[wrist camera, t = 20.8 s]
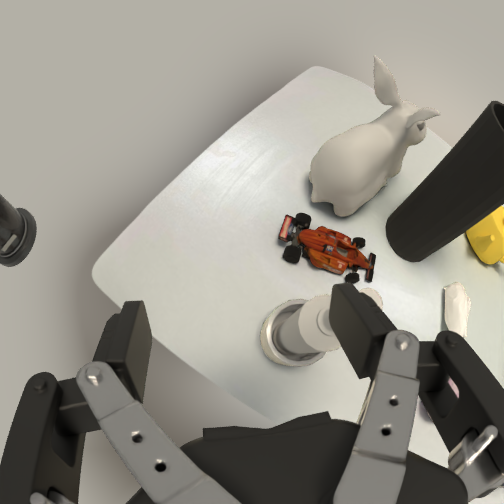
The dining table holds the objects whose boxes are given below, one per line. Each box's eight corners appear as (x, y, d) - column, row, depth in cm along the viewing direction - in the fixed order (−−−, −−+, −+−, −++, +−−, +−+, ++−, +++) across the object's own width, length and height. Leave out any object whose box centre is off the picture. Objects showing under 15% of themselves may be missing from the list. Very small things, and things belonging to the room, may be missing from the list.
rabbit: (404, 187, 53) (474, 102, 30) (329, 233, 48) (402, 129, 24) (368, 145, 56) (419, 52, 33) (289, 180, 51) (328, 61, 27)
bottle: (312, 328, 41) (410, 283, 18) (298, 361, 40) (389, 356, 16) (280, 314, 42) (345, 251, 19) (265, 347, 40) (317, 326, 17)
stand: (263, 369, 40) (270, 370, 33) (256, 312, 42) (262, 303, 36) (320, 360, 40) (336, 359, 34) (312, 306, 43) (326, 295, 37)
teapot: (460, 258, 49) (492, 239, 39) (459, 203, 53) (486, 180, 44) (500, 278, 48) (530, 263, 39) (497, 226, 53) (523, 208, 44)
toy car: (368, 291, 45) (380, 284, 41) (270, 256, 46) (275, 245, 41) (376, 248, 48) (388, 238, 43) (285, 213, 48) (291, 200, 44)
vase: (438, 243, 49) (549, 156, 21) (410, 273, 46) (541, 184, 18) (406, 202, 52) (500, 95, 24) (375, 226, 49) (481, 107, 21)
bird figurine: (455, 337, 44) (462, 283, 45) (474, 341, 37) (481, 281, 39) (434, 336, 45) (441, 281, 46) (451, 341, 38) (459, 279, 39)
